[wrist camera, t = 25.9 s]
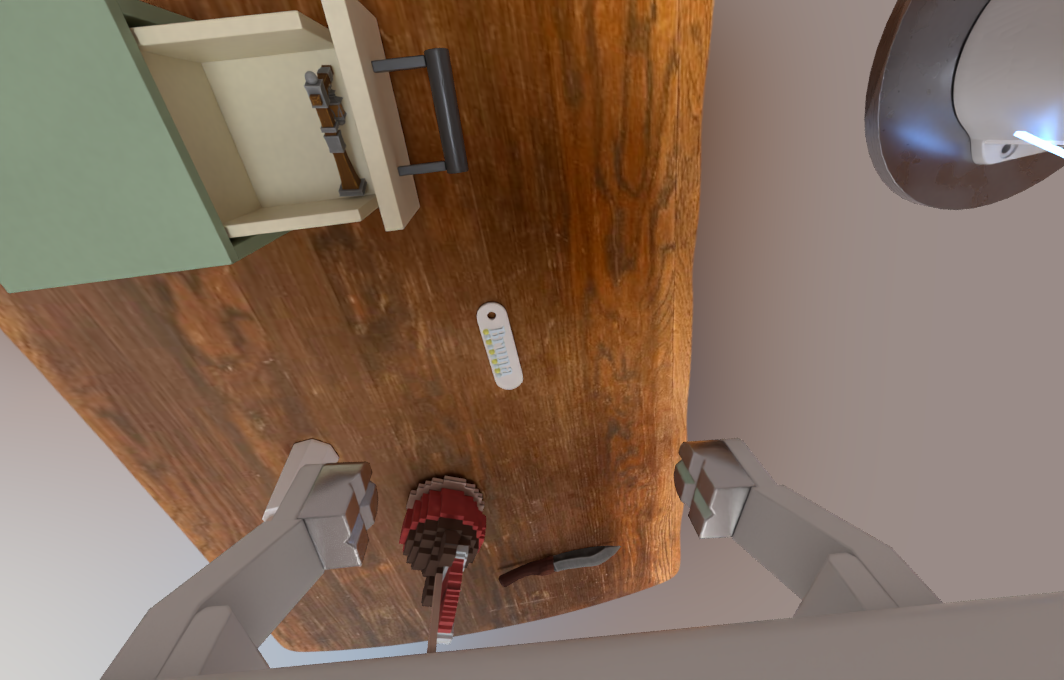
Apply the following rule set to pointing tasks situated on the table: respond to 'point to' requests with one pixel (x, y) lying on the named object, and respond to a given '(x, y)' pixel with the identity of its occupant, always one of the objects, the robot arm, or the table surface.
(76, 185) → the cabinet
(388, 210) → the drawer
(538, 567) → the knife
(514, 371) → the keychain
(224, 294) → the table surface
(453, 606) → the christmas cupcake
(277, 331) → the table surface
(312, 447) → the salt shaker
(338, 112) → the wooden post with brackets
